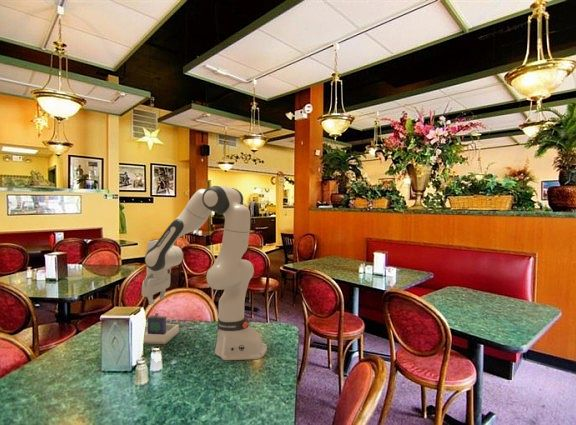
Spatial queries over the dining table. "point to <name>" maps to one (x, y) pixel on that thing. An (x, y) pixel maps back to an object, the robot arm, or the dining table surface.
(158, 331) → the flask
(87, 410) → the dining table surface
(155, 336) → the tub
